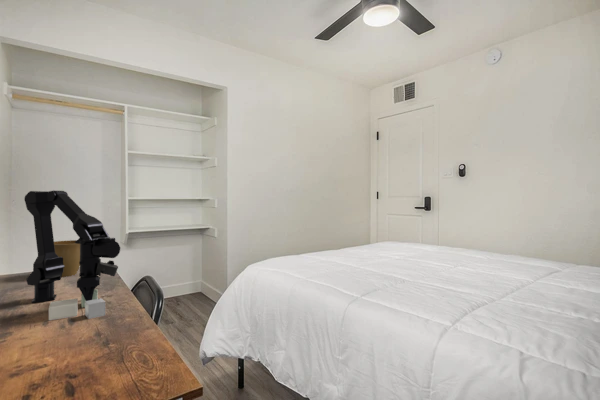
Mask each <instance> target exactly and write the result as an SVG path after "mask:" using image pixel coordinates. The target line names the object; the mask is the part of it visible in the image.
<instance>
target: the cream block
mask: <svg viewBox="0 0 600 400" xmlns="http://www.w3.org/2000/svg"><path fill="white" fill-rule="evenodd" d="M78 302H79V301H78V298H70V299H63V300H55V301H54V300H53V301H50V304H49V306H48V321H54V320H60V319H67V318H73V317H74V318H75V317H77V316H78V308H79V306H78V305H79V304H78Z"/></svg>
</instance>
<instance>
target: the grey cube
mask: <svg viewBox="0 0 600 400" xmlns="http://www.w3.org/2000/svg"><path fill="white" fill-rule="evenodd" d="M84 316H85V317H86V318H87V319H88V320H89V319H90V320H91V319H95V318H98V317H99V318H100V317H103V316H106V301H105V300H104V299H103V298H101V297H100V298H98V299H94V300H89V301H85V307H84Z"/></svg>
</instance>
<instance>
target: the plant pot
mask: <svg viewBox="0 0 600 400" xmlns="http://www.w3.org/2000/svg"><path fill="white" fill-rule="evenodd" d="M77 240H78V239H77ZM77 240H76V239H75V240H74V239H73V240H71V239H70V240H58V241H56V240H55V241H54V247H55V253H56V254H57V255H58V256H59V257H62V258H63V264H64V268H63V273H62V276H61V278H62V277H63V278H65V277H66V276H67V277H73V276H75V274H76V275H77V273H78V272H79V271H78V270H80V264H79V261H80V244H76V243H75V241H77ZM72 275H73V276H72ZM67 277H66V278H67Z"/></svg>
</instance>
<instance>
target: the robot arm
mask: <svg viewBox="0 0 600 400" xmlns="http://www.w3.org/2000/svg"><path fill="white" fill-rule="evenodd" d="M24 203H25V207H26V210H27V211H28V212H29V213H30V214H31V215H32V216H33V217H32V218H33V224H34V231H35V232H34V233H35V234H34V235H35V241H36V249H37V257H36V259H35V261H33V263H32V264H33V267H32V268H33V269H32V270H33V271H31V272H30V274H29V275H28V276H27V278H26V283H27V286H34V287H33V289H34V290H33V293H34V297H33V299H32V300H31V303H33V304H34V303H40V302H42V303H43V302H49V301H50V302H51V301H54V300H55V299H56V298H57V295H58V294H55V282H57V281H61V280H62V277H61V276H62V273H63V268H64V264H63V258H62V257H59V256H58V255H57V254H56V253H55V247H54V242H55V241H54V240H55V239H54V231H53V223H52V212H53V211H54V210H55V208H56V207H57V208H58V209H59V210H60V211H61V212H62V214H64V215H65V217H67V219H69V221H70V222H71V223H72V230H73V231H74V232H75V233H76V236H77V237H78V239H77V241H75V243H76V244H80V261H79V264H80V266H79V275H78V276H79V278H77V281H76V288H77V289H79V291H80V292H81V295H82V294H83V296H84V298H85V300H86V301H89V300H92V298H93V293H94V290H95V289H96V288H97V287H99V286H100V284H101V275H102V274H103V275H107V276H110V277H115V276H116V274H117V271H118V269H119V266H118V264H115V261H114V260H108V261H107V262H102V261H101V260H102V259H101V258H103V259H105V258H106V259H115V258H116V257H118V256H119V254H120V252H121V246H120V244H119V243H118V241H117V240H116V237H110V235H109V234H108V232H107V230H106V229H105V227H104V224H103V223H102V221H101V220H100V219H98V218H96V217H94V216H92V215H89V214H87V213H86V212H85V211H84V209H82V208H81V207H80V206H79V205H78V204H77V203H76V202H75V201H74V200H73V199H72V198H71V197H70V196H69V194H68V192H67V191H65V190H54V189H53V190H49V191H47V190H45V191H42V190H30V191H28V192H27V194H25V196H24ZM55 301H56V300H55Z"/></svg>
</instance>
